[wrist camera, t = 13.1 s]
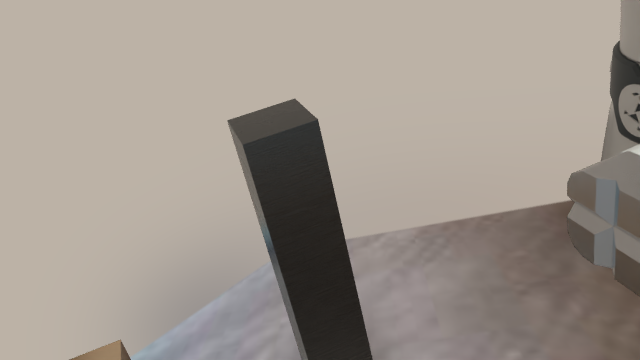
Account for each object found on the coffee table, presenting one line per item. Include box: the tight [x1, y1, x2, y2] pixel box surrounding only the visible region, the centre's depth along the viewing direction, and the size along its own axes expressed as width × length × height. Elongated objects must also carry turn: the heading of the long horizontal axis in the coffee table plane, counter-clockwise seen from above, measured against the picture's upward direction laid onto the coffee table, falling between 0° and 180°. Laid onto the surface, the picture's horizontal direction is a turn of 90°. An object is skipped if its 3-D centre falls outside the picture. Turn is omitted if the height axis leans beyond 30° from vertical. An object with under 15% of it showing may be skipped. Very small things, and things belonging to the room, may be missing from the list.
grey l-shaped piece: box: [228, 99, 373, 360], centre depth 25 cm, size 16×3×17 cm, turn 110°
